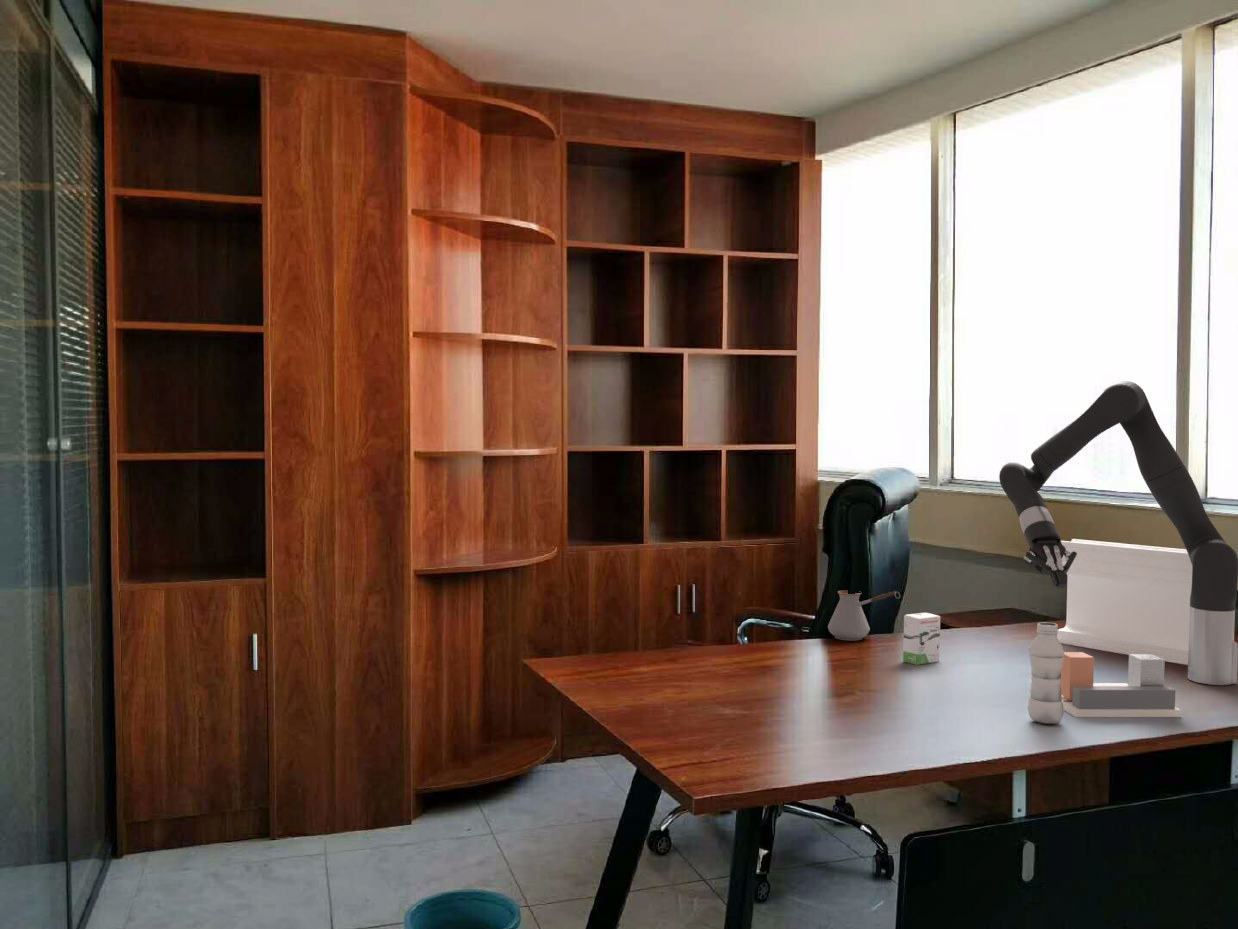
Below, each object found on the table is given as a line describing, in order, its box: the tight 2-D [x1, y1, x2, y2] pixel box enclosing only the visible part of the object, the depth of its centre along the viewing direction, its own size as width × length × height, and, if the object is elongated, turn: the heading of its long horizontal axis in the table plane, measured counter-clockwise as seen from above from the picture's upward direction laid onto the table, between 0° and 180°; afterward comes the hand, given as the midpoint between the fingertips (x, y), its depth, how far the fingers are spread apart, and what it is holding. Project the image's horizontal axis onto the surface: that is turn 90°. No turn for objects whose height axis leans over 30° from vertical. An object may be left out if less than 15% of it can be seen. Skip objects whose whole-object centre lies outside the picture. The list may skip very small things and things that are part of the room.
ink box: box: [902, 612, 941, 666], centre depth 267 cm, size 9×5×12 cm, turn 123°
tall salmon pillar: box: [1060, 651, 1095, 700], centre depth 226 cm, size 5×5×9 cm
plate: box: [1030, 682, 1182, 718], centre depth 229 cm, size 22×22×6 cm
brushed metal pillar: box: [1127, 654, 1166, 686], centre depth 224 cm, size 5×5×9 cm
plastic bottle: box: [1027, 621, 1065, 725], centre depth 213 cm, size 6×7×20 cm
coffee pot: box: [827, 589, 901, 642], centre depth 291 cm, size 21×12×15 cm, turn 44°
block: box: [1056, 538, 1192, 666], centre depth 280 cm, size 35×8×28 cm, turn 41°
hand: (1061, 586), depth 249 cm, fingers closed
